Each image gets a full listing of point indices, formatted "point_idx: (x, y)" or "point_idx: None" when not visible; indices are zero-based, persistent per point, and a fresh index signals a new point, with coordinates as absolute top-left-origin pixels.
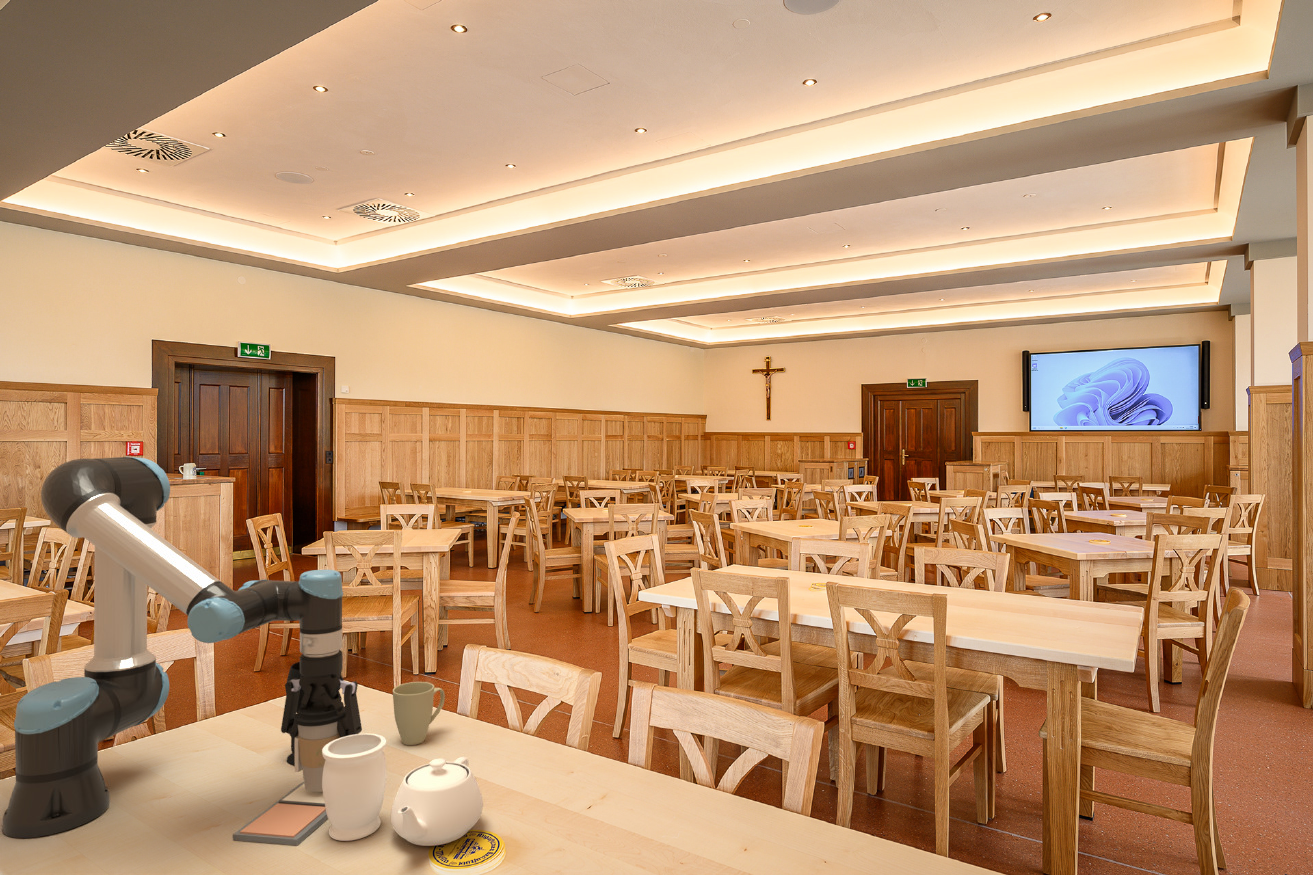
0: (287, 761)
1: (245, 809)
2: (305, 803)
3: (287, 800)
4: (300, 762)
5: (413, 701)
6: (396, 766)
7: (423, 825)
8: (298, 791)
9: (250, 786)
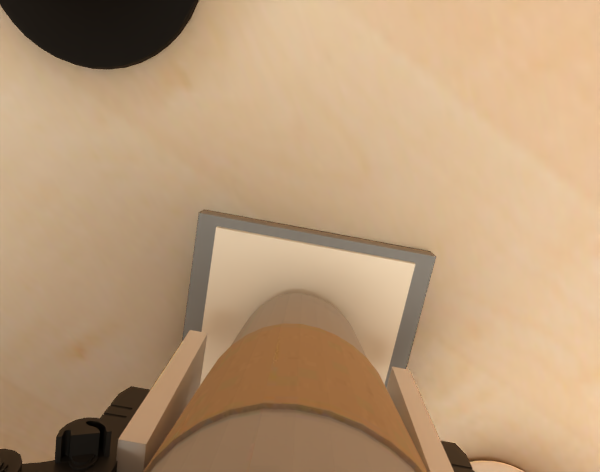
0: (14, 23)
1: (90, 394)
2: None
3: None
4: (191, 395)
5: None
6: (513, 79)
7: None
8: (217, 343)
9: (3, 238)
